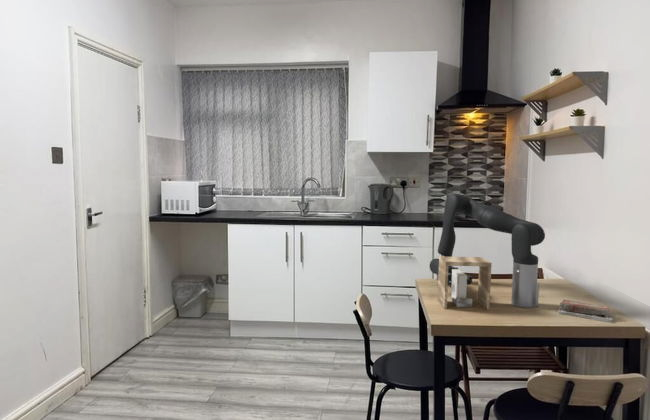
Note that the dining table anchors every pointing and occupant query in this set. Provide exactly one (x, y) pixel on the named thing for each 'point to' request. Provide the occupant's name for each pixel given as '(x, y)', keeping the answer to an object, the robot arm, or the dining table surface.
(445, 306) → the wooden arch
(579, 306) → the packaged product
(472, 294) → the dining table surface
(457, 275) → the white box
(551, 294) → the dining table surface
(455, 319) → the dining table surface
